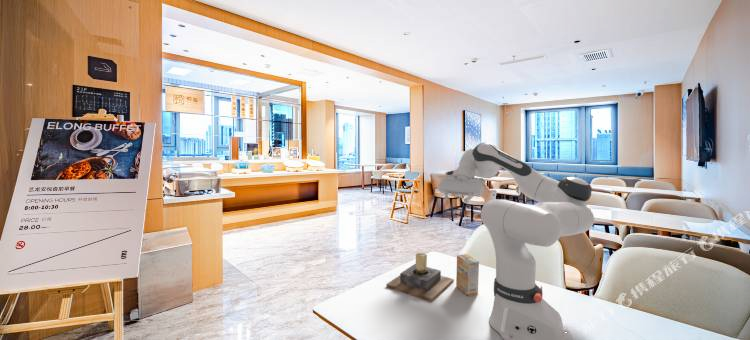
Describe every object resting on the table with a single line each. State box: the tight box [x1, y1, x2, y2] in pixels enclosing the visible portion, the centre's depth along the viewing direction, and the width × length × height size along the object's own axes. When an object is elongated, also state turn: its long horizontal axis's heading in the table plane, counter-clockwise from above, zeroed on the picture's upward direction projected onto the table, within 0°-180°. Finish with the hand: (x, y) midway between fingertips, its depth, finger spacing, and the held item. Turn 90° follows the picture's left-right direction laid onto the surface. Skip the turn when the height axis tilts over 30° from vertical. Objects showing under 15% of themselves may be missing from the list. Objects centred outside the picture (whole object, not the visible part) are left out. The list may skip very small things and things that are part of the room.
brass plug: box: [415, 252, 428, 275], centre depth 123 cm, size 4×4×11 cm
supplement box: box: [455, 253, 480, 296], centre depth 118 cm, size 8×5×13 cm, turn 17°
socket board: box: [385, 263, 454, 303], centre depth 124 cm, size 20×20×5 cm
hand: (455, 200), depth 137 cm, fingers open, 8 cm apart
